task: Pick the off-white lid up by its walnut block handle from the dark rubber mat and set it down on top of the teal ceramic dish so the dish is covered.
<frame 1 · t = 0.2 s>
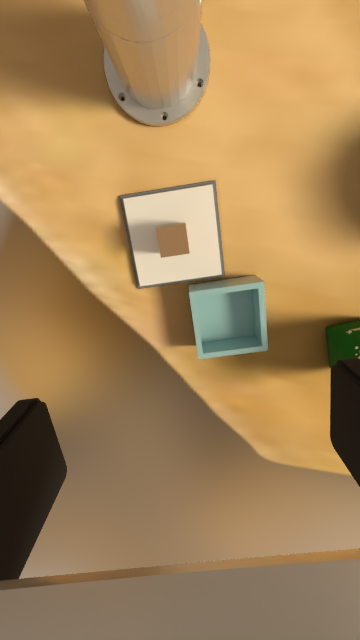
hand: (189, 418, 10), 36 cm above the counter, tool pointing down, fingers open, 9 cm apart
mat: (174, 237, 42), on the counter
lid: (174, 237, 42), resting on mat
dish: (224, 311, 46), on the counter
milk carton: (348, 342, 47), on the counter
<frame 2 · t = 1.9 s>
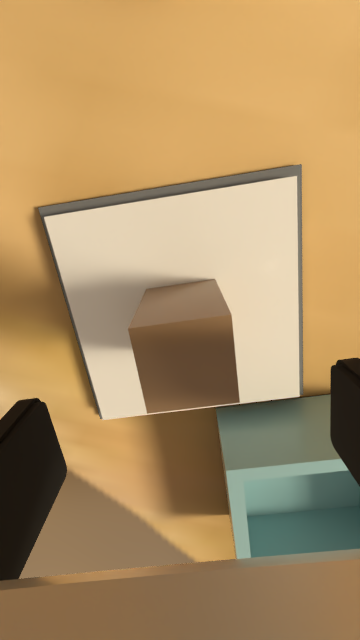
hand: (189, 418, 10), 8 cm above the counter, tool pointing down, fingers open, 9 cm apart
mat: (185, 309, 17), on the counter
lid: (185, 311, 17), resting on mat
dish: (294, 458, 21), on the counter
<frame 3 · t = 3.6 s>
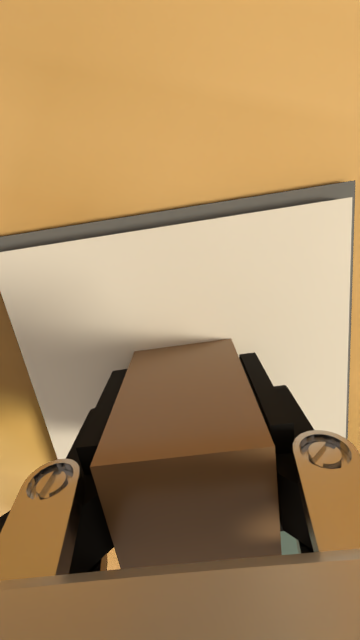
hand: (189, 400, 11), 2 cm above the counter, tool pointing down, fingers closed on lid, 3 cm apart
mat: (188, 372, 13), on the counter
lid: (188, 377, 12), resting on mat, touching gripper
dish: (330, 556, 16), on the counter
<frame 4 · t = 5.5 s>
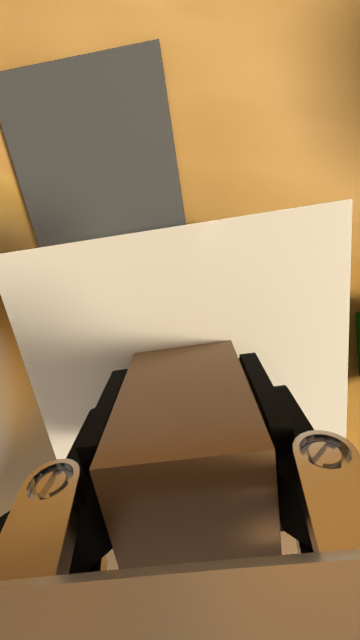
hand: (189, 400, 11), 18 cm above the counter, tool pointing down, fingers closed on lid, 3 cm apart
mat: (94, 157, 24), on the counter
lid: (188, 379, 12), point 16 cm above the counter, touching gripper
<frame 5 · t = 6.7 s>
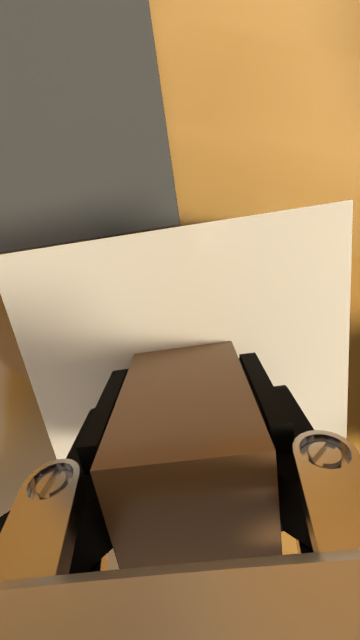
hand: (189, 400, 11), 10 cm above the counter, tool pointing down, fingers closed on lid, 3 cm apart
mat: (47, 121, 17), on the counter
lid: (188, 379, 12), point 8 cm above the counter, touching gripper
when the fingers open (8 cm above the counter, at t = 7.7 s): lid drops 1 cm, resting on dish.
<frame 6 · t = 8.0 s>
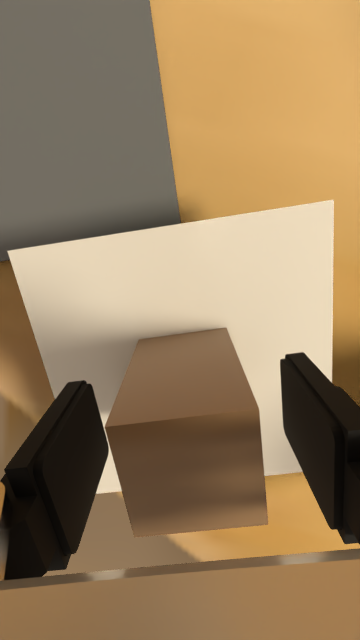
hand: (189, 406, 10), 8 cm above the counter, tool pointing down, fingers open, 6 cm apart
mat: (33, 118, 15), on the counter
lid: (188, 364, 13), point 5 cm above the counter, touching dish
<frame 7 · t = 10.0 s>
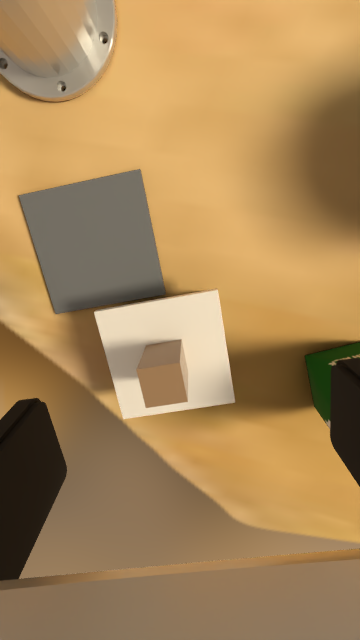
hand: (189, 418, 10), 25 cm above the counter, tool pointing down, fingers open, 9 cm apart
mat: (96, 246, 33), on the counter
lid: (167, 355, 31), point 5 cm above the counter, touching dish
milk carton: (337, 374, 36), on the counter
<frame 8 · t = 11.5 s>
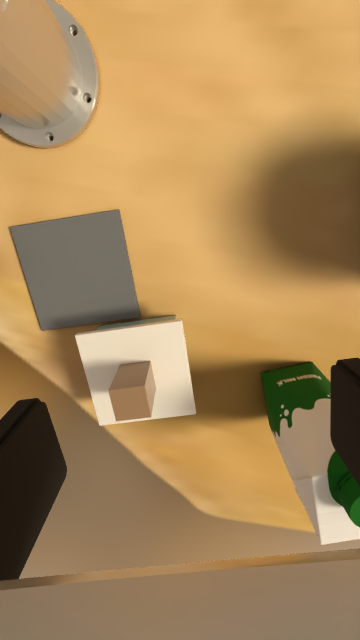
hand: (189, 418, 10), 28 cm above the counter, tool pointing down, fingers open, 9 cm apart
mat: (78, 273, 37), on the counter
lid: (139, 373, 35), point 5 cm above the counter, touching dish
dish: (144, 355, 40), on the counter
milk carton: (288, 388, 42), on the counter
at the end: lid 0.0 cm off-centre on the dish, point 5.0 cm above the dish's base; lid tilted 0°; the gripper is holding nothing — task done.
